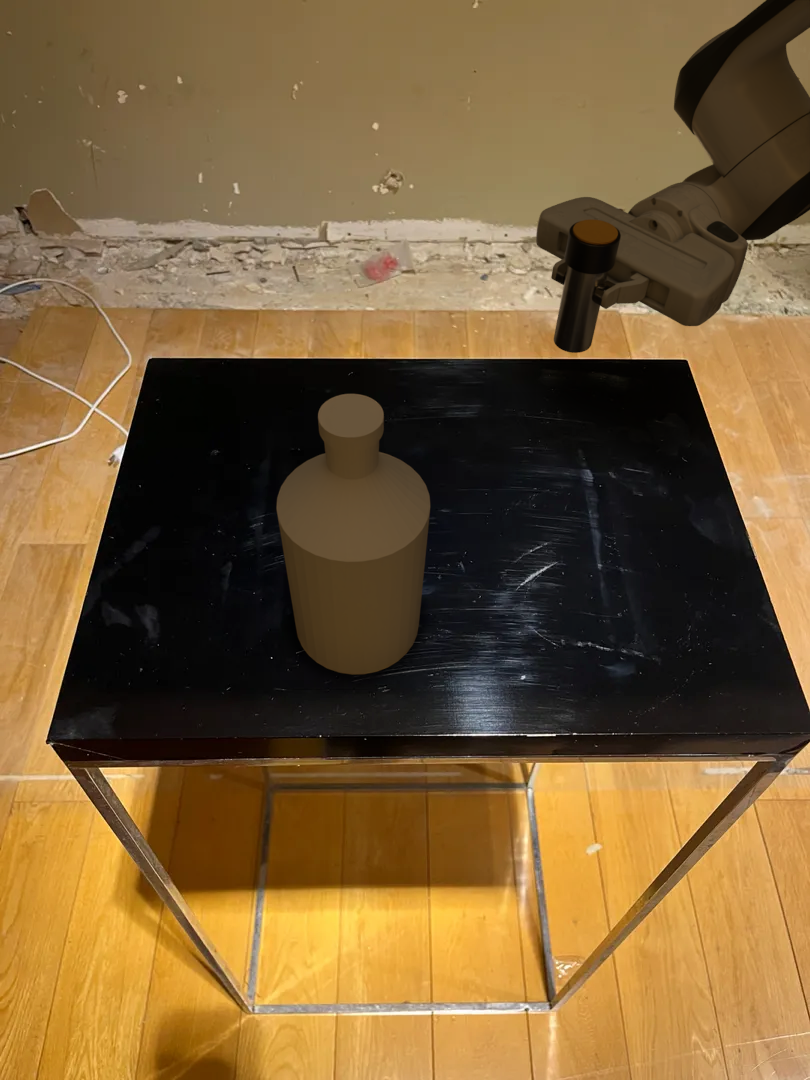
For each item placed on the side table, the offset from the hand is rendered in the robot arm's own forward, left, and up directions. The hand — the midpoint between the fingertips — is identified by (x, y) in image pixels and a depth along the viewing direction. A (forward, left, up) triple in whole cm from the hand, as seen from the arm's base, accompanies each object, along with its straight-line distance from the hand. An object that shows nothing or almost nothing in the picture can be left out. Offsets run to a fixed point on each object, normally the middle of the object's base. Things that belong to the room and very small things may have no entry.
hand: (578, 287), depth 78 cm
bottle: (+14, +29, -20) cm, 38 cm away
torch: (0, -1, -7) cm, 7 cm away
